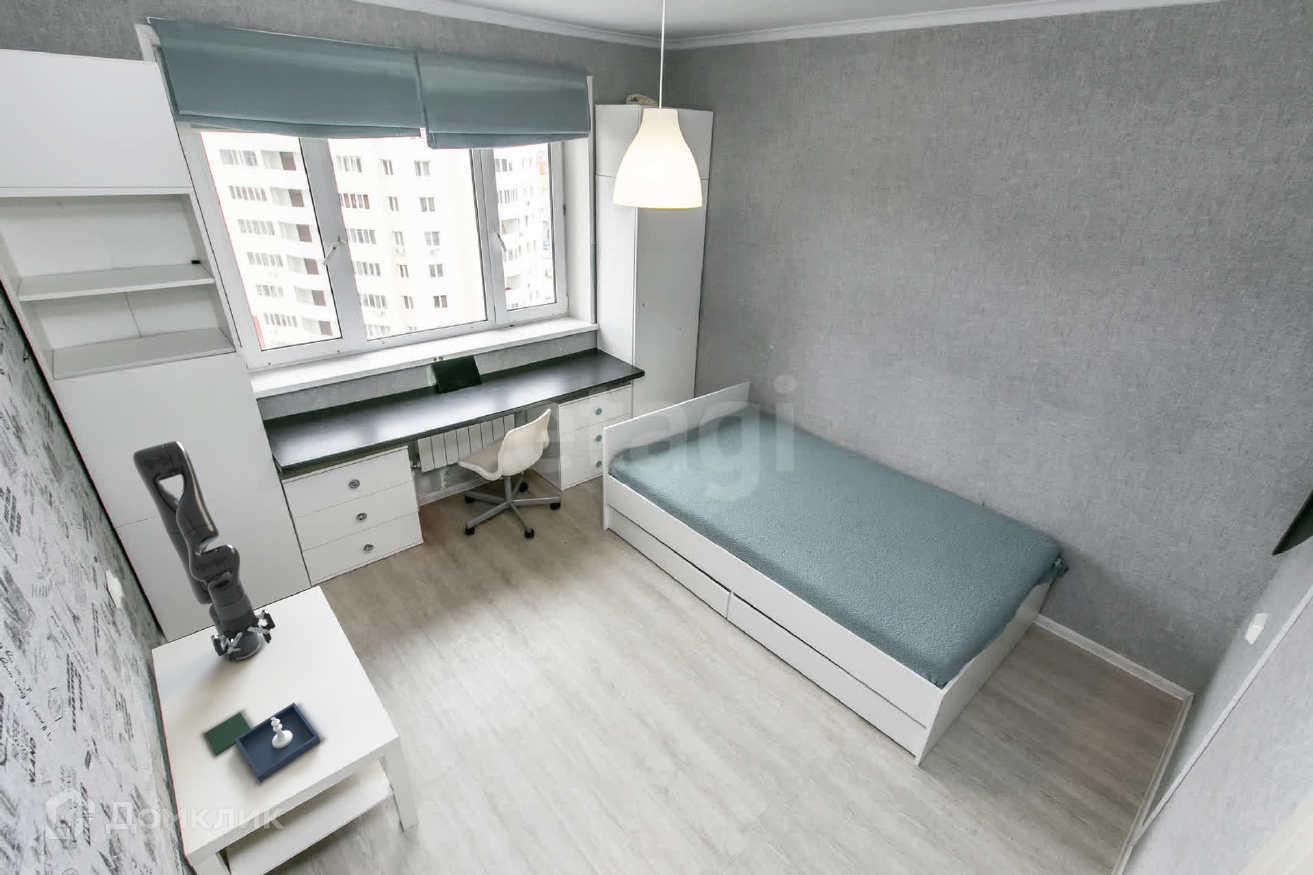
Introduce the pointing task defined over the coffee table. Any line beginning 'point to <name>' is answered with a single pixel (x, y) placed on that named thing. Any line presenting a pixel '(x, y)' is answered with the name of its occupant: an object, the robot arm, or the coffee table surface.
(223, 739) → the pad
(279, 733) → the chess piece
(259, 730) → the tray
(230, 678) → the coffee table surface
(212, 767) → the coffee table surface
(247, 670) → the coffee table surface
